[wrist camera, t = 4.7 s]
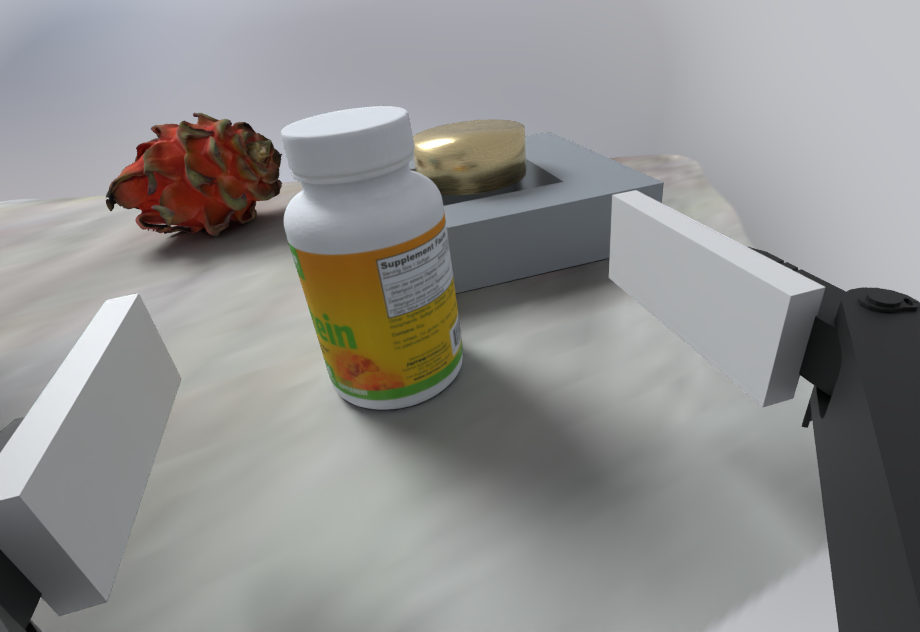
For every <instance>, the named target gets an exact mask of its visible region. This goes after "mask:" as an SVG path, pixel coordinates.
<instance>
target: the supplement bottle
mask: <svg viewBox="0 0 920 632" xmlns="http://www.w3.org/2000/svg"><path fill="white" fill-rule="evenodd" d="M281 138H282V142H283V146H284V150H285V153H286V157H287V161H288V165H289V168H290V169H291V171H292V172H291V175H292V176H293V178H294V179H296V180H297V181H300V182H301V183H302V186H303V190H302V191H301V192H300V193H298V194H297V195H296V196H295V197H294V198H293V199H292V200H291V201H290V203H289V204H288V206H287V208H286V210H285V214H284V228H285V232H286V235H287V240H288V243H289V246H290V249H291V252H292V255H293V259H294V262H295V265H296V268H297V272H298V275H299V278H300V281H301V285H302V288H303V291H304V294H305V297H306V301H307V304H308V307H309V310H310V314H311V317H312V320H313V324H314V327H315V330H316V333H317V337H318V340H319V343H320V347H321V350H322V353H323V356H324V360H325V363H326V367H327V370H328V373H329V376H330V379H331V382H332V384H333V387H334V388H335V390H336V391H337V393H338V394H339V395H340V396H341V397H342V398H344V399H345V400H346V401H348V402H350V403H352V404H354V405H357V406H360V407H364V408H369V409H378V410H387V409H399V408H404V407H409V406H413V405H416V404H419V403H421V402H423V401H426V400H428V399H430V398H432V397H433V396H435V395H437V394H438V393H440V392H441V391H442V390H444V389H445V388H446V387H447V386H448V385H449V384H450V383H451V382H452V381H453V380H454V379H455V377H456V376H457V374H458V372H459V370H460V368H461V366H462V361H463V348H462V338H461V330H460V322H459V315H458V308H457V300H456V293H455V286H454V278H453V271H452V264H451V256H450V249H449V242H448V234H447V226H446V219H445V211H444V206H443V201H442V197H441V194H440V191H439V189H438V188H437V186H436V185H435V184H434V183H433V181H431V180H430V179H429V178H428V177H426V176H424V175H422V174H420V173H418V172H415V171H411V170H410V167H409V162H411V161H412V160H413V158H414V151H413V150H414V148H415V144H414V140H413V136H412V130H411V125H410V119H409V114H408V112H407V111H406V110H405V109H403V108H398V107H390V106H382V107H377V106H376V107H363V108H354V109H347V110H341V111H336V112H330V113H325V114H321V115H316V116H312V117H309V118H306V119H303V120H299V121H297V122H294V123H292V124H290V125H288V126H286V127H284V129H282V131H281Z"/></svg>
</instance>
